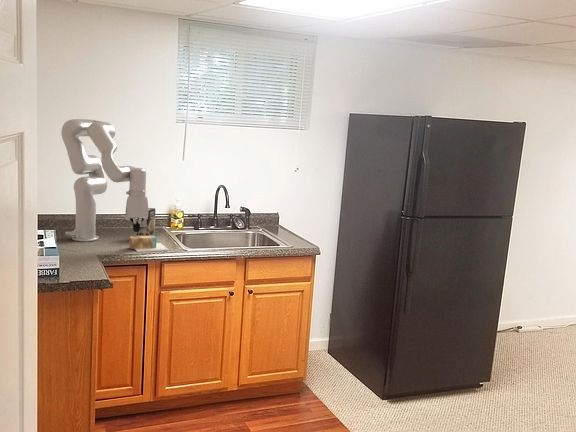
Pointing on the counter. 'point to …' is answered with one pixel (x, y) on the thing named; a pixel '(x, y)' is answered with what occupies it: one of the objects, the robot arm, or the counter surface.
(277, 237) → the counter surface
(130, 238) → the tan jar
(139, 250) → the cutting board
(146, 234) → the coffee box
